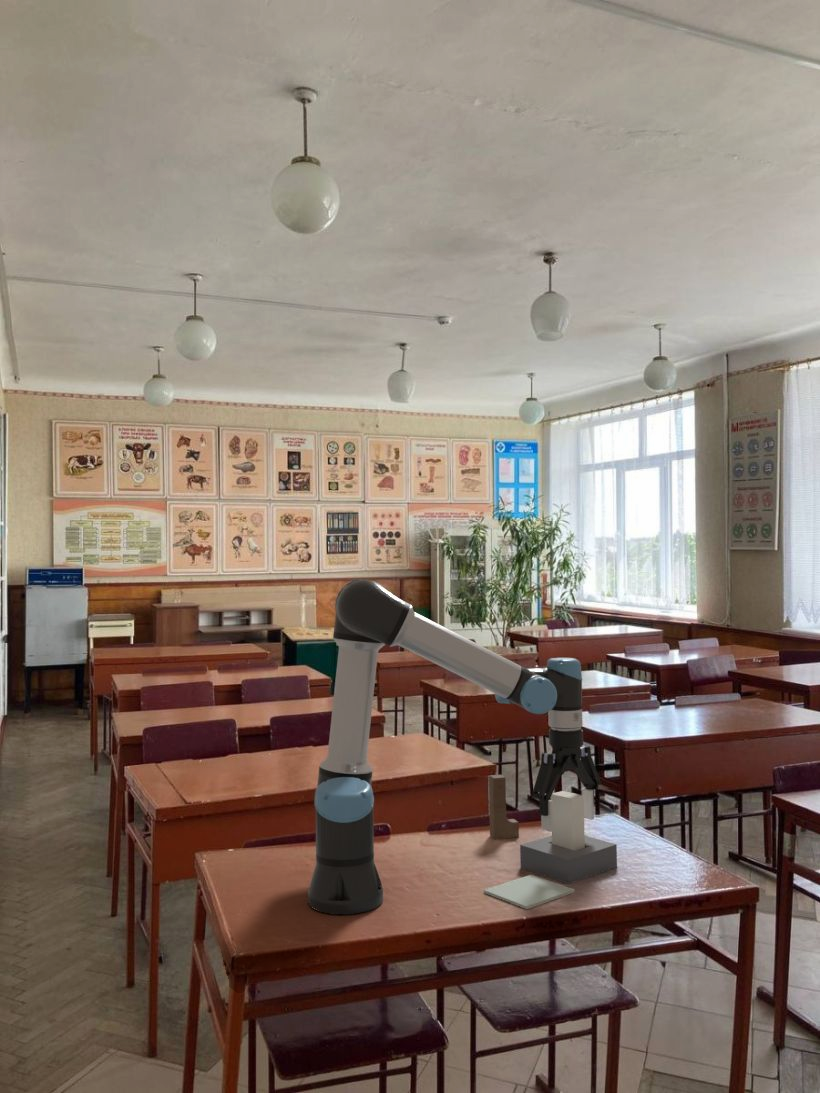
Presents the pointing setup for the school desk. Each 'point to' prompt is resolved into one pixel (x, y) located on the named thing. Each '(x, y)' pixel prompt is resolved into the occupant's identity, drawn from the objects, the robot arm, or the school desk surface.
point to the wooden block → (500, 810)
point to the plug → (568, 820)
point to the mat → (529, 891)
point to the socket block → (568, 859)
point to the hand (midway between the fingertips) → (568, 824)
